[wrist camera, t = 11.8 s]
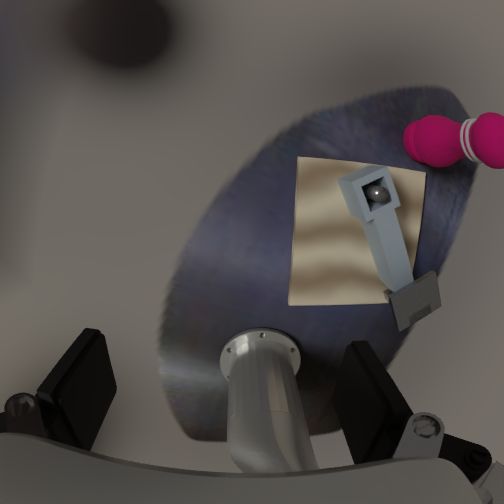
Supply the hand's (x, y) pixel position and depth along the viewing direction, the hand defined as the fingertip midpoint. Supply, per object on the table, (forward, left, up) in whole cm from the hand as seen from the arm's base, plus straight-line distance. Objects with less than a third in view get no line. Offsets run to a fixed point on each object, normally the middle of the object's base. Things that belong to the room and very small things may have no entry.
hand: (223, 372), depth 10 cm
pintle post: (+5, -16, -30) cm, 34 cm away
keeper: (-7, -22, -30) cm, 38 cm away
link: (0, -19, -28) cm, 34 cm away
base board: (-1, -17, -30) cm, 34 cm away
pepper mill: (+13, -26, -30) cm, 42 cm away
